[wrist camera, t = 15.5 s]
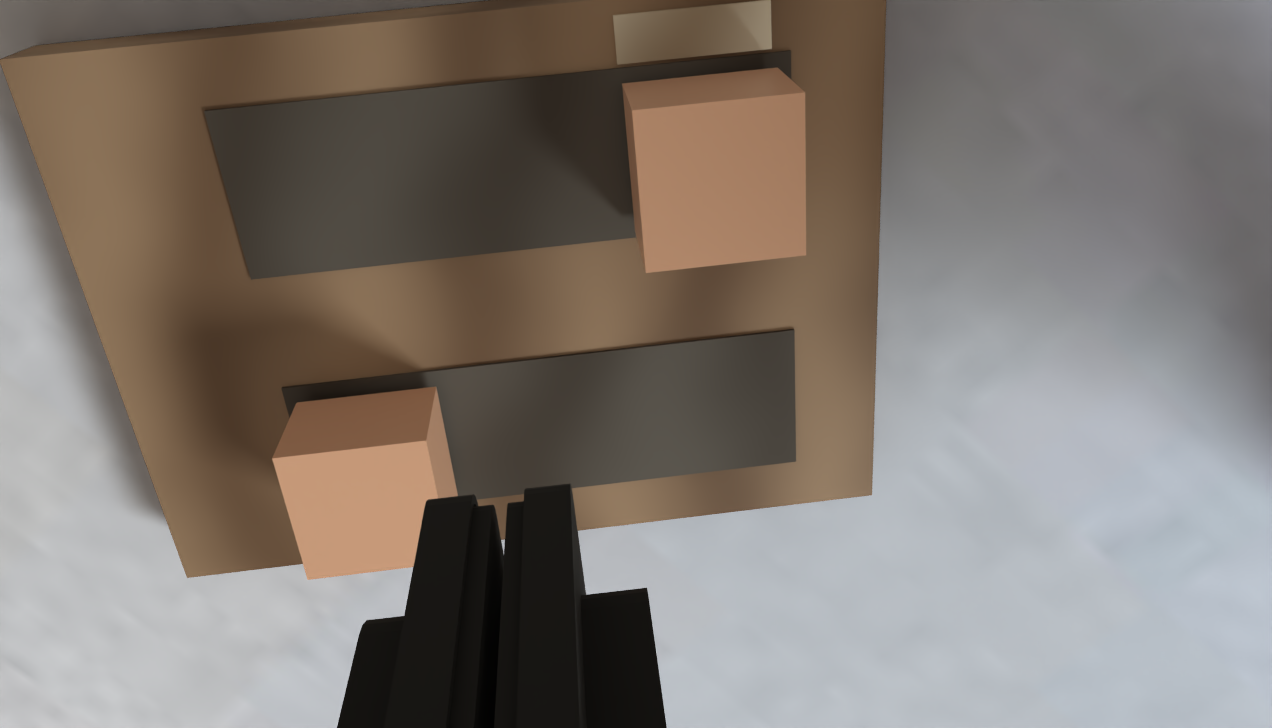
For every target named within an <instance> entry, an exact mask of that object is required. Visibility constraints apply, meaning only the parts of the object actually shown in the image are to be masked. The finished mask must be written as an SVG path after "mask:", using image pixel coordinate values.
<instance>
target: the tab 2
mask: <svg viewBox="0 0 1272 728" xmlns="http://www.w3.org/2000/svg"><path fill="white" fill-rule="evenodd" d="M622 88H623V100H624V111H625V122H626V134H627V145H628V156H629V168H630V179H631V190H632V202H633V213H634V224H635V233H636V237H637V241H638V245H639V249H640V253H641V257H642V260H643V264H644V268H645V272H646V273H652V272H661V271H670V270H679V269H688V268H697V267H706V266H715V265H724V264H733V263H742V262H751V261H760V260H769V259H778V258H787V257H796V256H805V255H806V138H805V92H804V91H803V90H802V89H801V88H800V87H799V86H798V85H796V84H795V83H794V82H793V81H792V80H791V79H790V78H789V77H788V76H786V75H785V74H784V73H783V72H782V71H781V70H780V69H779V68H778V67H777V68H767V69H758V70H748V71H738V72H729V73H719V74H709V75H700V76H690V77H680V78H671V79H661V80H651V81H641V82H632V83H622Z"/></svg>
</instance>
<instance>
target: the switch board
mask: <svg viewBox="0 0 1272 728" xmlns="http://www.w3.org/2000/svg"><path fill="white" fill-rule="evenodd" d="M885 27H886V0H488V1H478V2H468V3H458V4H448V5H438V6H428V7H418V8H408V9H398V10H388V11H378V12H368V13H357V14H347V15H337V16H327V17H317V18H307V19H297V20H287V21H277V22H267V23H257V24H247V25H237V26H227V27H217V28H207V29H197V30H187V31H176V32H166V33H156V34H146V35H136V36H126V37H116V38H106V39H96V40H86V41H76V42H66V43H56V44H46V45H36V46H33V47H30V48H28V49H25V50H22V51H20V52H17V53H15V54H12V55H10V56H7V57H4V58H2V59H0V64H1V66H2V69H3V72H4V75H5V77H6V80H7V83H8V86H9V88H10V91H11V94H12V97H13V99H14V102H15V105H16V108H17V110H18V113H19V116H20V119H21V122H22V124H23V127H24V130H25V133H26V135H27V138H28V141H29V144H30V146H31V149H32V152H33V155H34V157H35V160H36V163H37V166H38V168H39V171H40V174H41V177H42V179H43V182H44V185H45V188H46V190H47V193H48V196H49V199H50V201H51V204H52V207H53V210H54V212H55V215H56V218H57V221H58V223H59V226H60V229H61V232H62V234H63V237H64V240H65V243H66V245H67V248H68V251H69V254H70V256H71V259H72V262H73V265H74V267H75V270H76V273H77V276H78V278H79V281H80V284H81V287H82V290H83V292H84V295H85V298H86V301H87V303H88V306H89V309H90V312H91V314H92V317H93V320H94V323H95V325H96V328H97V331H98V334H99V336H100V339H101V342H102V345H103V347H104V350H105V353H106V356H107V358H108V361H109V364H110V367H111V369H112V372H113V375H114V378H115V380H116V383H117V386H118V389H119V391H120V394H121V397H122V400H123V402H124V405H125V408H126V411H127V413H128V416H129V419H130V422H131V424H132V427H133V430H134V433H135V435H136V438H137V441H138V444H139V446H140V449H141V452H142V455H143V458H144V460H145V463H146V466H147V469H148V471H149V474H150V477H151V480H152V482H153V485H154V488H155V491H156V493H157V496H158V499H159V502H160V504H161V507H162V510H163V513H164V515H165V518H166V521H167V524H168V526H169V529H170V532H171V535H172V537H173V540H174V543H175V546H176V548H177V551H178V554H179V557H180V559H181V562H182V565H183V568H184V570H185V573H186V576H187V578H189V577H198V576H206V575H214V574H223V573H231V572H239V571H247V570H256V569H264V568H272V567H280V566H289V565H297V564H303V562H302V558H301V555H300V552H299V548H298V545H297V541H296V538H295V535H294V531H293V528H292V524H291V521H290V518H289V514H288V511H287V507H286V504H285V501H284V497H283V494H282V490H281V487H280V484H279V480H278V477H277V473H276V470H275V467H274V463H273V460H272V458H273V455H274V453H275V451H276V448H277V446H278V444H279V442H280V439H281V437H282V435H283V432H284V430H285V428H286V425H287V423H288V421H289V419H290V416H291V414H292V412H293V409H294V407H295V405H296V403H297V402H306V401H315V400H323V399H332V398H341V397H350V396H358V395H367V394H376V393H385V392H393V391H402V390H411V389H419V388H428V387H436V388H437V393H438V398H439V403H440V408H441V413H442V418H443V423H444V428H445V433H446V438H447V443H448V448H449V453H450V458H451V463H452V468H453V474H454V479H455V484H456V489H457V494H458V496H463V495H472V494H474V495H475V496H476V499H477V502H478V506H485V505H494V507H495V510H496V514H497V520H498V526H499V531H500V537H501V540H504V539H505V532H506V515H507V504H508V503H512V502H521V501H524V490H525V489H526V488H535V487H544V486H553V485H561V484H570V483H571V487H572V493H573V500H574V507H575V515H576V523H577V530H586V529H595V528H603V527H611V526H619V525H628V524H636V523H644V522H653V521H661V520H669V519H677V518H686V517H694V516H702V515H710V514H719V513H727V512H735V511H744V510H752V509H760V508H768V507H777V506H785V505H793V504H801V503H810V502H818V501H826V500H834V499H843V498H851V497H859V496H868V495H872V475H873V441H874V406H875V372H876V337H877V303H878V268H879V234H880V199H881V165H882V130H883V96H884V61H885ZM777 67H778V68H779V69H780V70H781V71H782V72H783V73H784V74H785V75H786V76H788V77H789V78H790V79H791V80H792V81H793V82H794V83H795V84H796V85H798V86H799V87H800V88H801V89H802V90H803V91H804V92H805V138H806V255H805V256H796V257H787V258H778V259H769V260H760V261H751V262H742V263H733V264H724V265H715V266H706V267H697V268H688V269H679V270H670V271H661V272H652V273H646V272H645V268H644V264H643V260H642V257H641V253H640V249H639V245H638V241H637V237H636V233H635V224H634V213H633V202H632V190H631V179H630V168H629V156H628V145H627V134H626V122H625V111H624V100H623V88H622V83H632V82H641V81H651V80H661V79H671V78H680V77H690V76H700V75H709V74H719V73H729V72H738V71H748V70H758V69H767V68H777Z"/></svg>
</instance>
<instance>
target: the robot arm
mask: <svg viewBox="0 0 1272 728" xmlns="http://www.w3.org/2000/svg"><path fill="white" fill-rule="evenodd" d="M337 728H666V720H665V713H664V706H663V699H662V692H661V684H660V677H659V670H658V663H657V656H656V648H655V641H654V634H653V627H652V620H651V612H650V605H649V598H648V592H647V588H642V589H633V590H624V591H616V592H607V593H599V594H590V595H586V591H585V584H584V576H583V568H582V561H581V553H580V546H579V538H578V530H577V523H576V515H575V507H574V500H573V493H572V487H571V483H570V484H561V485H553V486H544V487H535V488H526V489H525V490H524V501H521V502H512V503H508V504H507V515H506V532H505V549H504V554H503V549H502V543H501V537H500V531H499V526H498V520H497V514H496V510H495V507H494V505H485V506H478V502H477V499H476V496H475V495H474V494H472V495H463V496H454V497H446V498H437V499H428V500H427V501H426V504H425V508H424V513H423V518H422V524H421V529H420V535H419V540H418V545H417V551H416V556H415V562H414V567H413V572H412V578H411V583H410V589H409V594H408V599H407V605H406V610H405V616H400V617H392V618H383V619H375V620H367V621H366V622H365V623H364V624H363V625H362V628H361V631H360V634H359V638H358V642H357V646H356V650H355V655H354V659H353V663H352V667H351V671H350V676H349V680H348V684H347V688H346V692H345V697H344V701H343V705H342V709H341V713H340V717H339V722H338V726H337Z"/></svg>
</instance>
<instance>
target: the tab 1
mask: <svg viewBox="0 0 1272 728" xmlns="http://www.w3.org/2000/svg"><path fill="white" fill-rule="evenodd" d="M272 460H273V463H274V467H275V470H276V473H277V477H278V480H279V484H280V487H281V490H282V494H283V497H284V501H285V504H286V507H287V511H288V514H289V518H290V521H291V524H292V528H293V531H294V535H295V538H296V541H297V545H298V548H299V552H300V555H301V558H302V562H303V565H304V569H305V572H306V575H307V579H308V580H310V579H318V578H326V577H334V576H343V575H351V574H359V573H367V572H376V571H384V570H392V569H400V568H408V567H414V562H415V556H416V551H417V545H418V540H419V535H420V529H421V524H422V518H423V513H424V508H425V504H426V501H427V500H428V499H437V498H446V497H454V496H458V494H457V489H456V484H455V479H454V474H453V468H452V463H451V458H450V453H449V448H448V443H447V438H446V433H445V428H444V423H443V418H442V413H441V408H440V403H439V398H438V393H437V388H436V387H428V388H419V389H411V390H402V391H393V392H385V393H376V394H367V395H358V396H350V397H341V398H332V399H323V400H315V401H306V402H297V403H296V405H295V407H294V409H293V412H292V414H291V416H290V419H289V421H288V423H287V425H286V428H285V430H284V432H283V435H282V437H281V439H280V442H279V444H278V446H277V448H276V451H275V453H274V455H273V458H272Z"/></svg>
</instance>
